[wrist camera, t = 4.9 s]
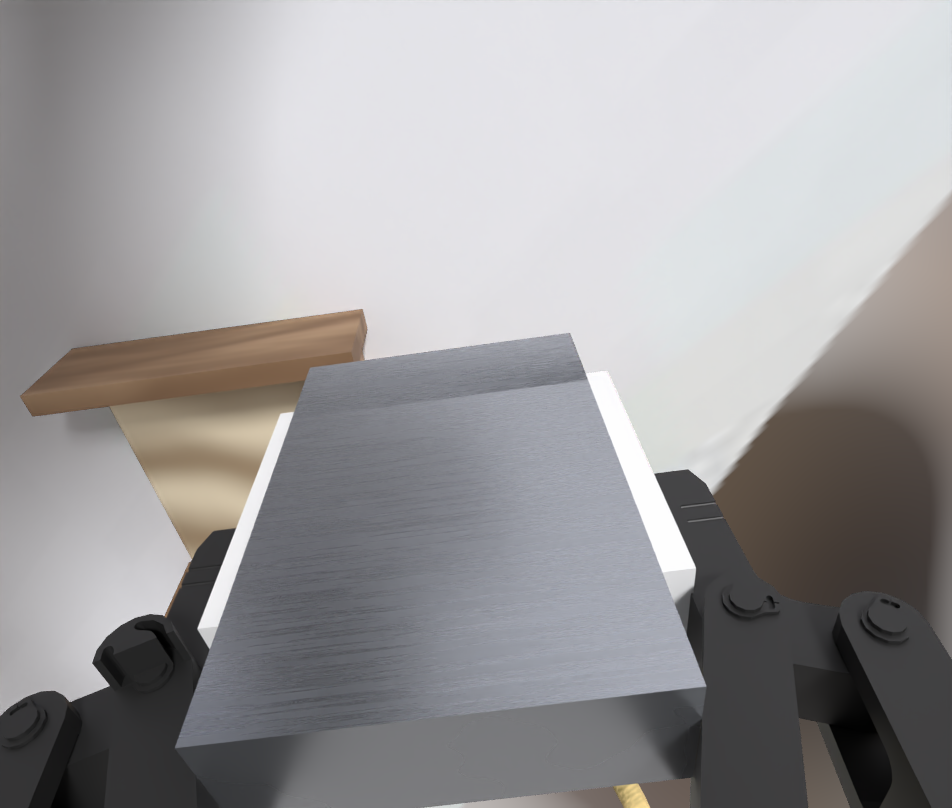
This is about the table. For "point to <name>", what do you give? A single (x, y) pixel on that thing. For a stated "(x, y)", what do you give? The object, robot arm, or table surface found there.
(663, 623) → the angle bracket
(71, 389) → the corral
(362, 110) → the table surface
